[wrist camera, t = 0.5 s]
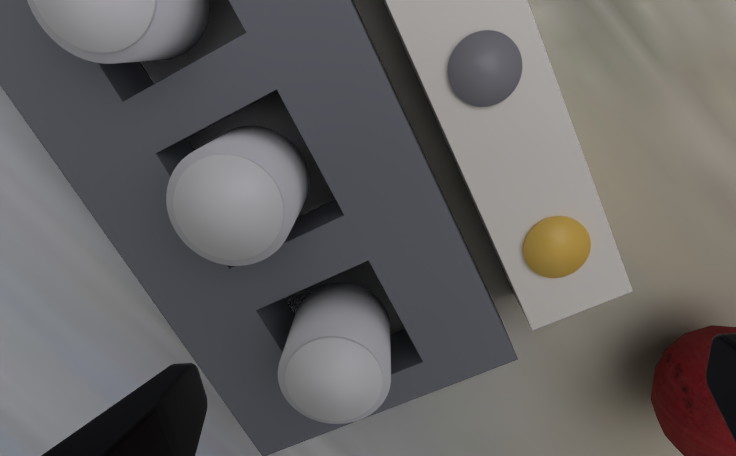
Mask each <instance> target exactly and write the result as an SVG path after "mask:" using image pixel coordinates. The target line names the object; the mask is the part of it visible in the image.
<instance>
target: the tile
mask: <svg viewBox="0 0 736 456" xmlns="http://www.w3.org/2000/svg"><path fill="white" fill-rule="evenodd" d="M383 2H384V4H385V6H386V9H387V11H388V13H389V15H390V18H391V20H392V22H393V24H394V27H395V29H396V31H397V33H398V35H399V38H400V40H401V42H402V44H403V47H404V49H405V51H406V53H407V56H408V58H409V60H410V62H411V65H412V67H413V69H414V71H415V73H416V76H417V78H418V80H419V82H420V85H421V87H422V89H423V91H424V94H425V96H426V98H427V100H428V103H429V105H430V107H431V109H432V111H433V114H434V116H435V118H436V120H437V123H438V125H439V127H440V129H441V132H442V134H443V136H444V138H445V141H446V143H447V145H448V147H449V149H450V152H451V154H452V156H453V158H454V161H455V163H456V165H457V167H458V170H459V172H460V174H461V176H462V179H463V181H464V183H465V185H466V187H467V190H468V192H469V194H470V196H471V199H472V201H473V203H474V205H475V208H476V210H477V212H478V214H479V217H480V219H481V221H482V223H483V225H484V228H485V230H486V232H487V234H488V237H489V239H490V241H491V243H492V246H493V248H494V250H495V252H496V255H497V257H498V259H499V261H500V263H501V266H502V268H503V270H504V272H505V275H506V277H507V279H508V281H509V284H510V286H511V288H512V290H513V293H514V295H515V297H516V299H517V301H518V303H519V305H520V307H521V308H522V310H523V312H524V314H525V316H526V318H527V320H528V322H529V324H530V326H531V328H532V330H535V329H538V328H540V327H543V326H545V325H548V324H551V323H553V322H556V321H558V320H561V319H563V318H566V317H568V316H571V315H574V314H576V313H579V312H581V311H584V310H586V309H589V308H591V307H594V306H597V305H599V304H602V303H604V302H607V301H609V300H612V299H614V298H617V297H620V296H622V295H625V294H627V293H630V292H632V291H633V290H632V287H631V284H630V282H629V279H628V276H627V273H626V271H625V268H624V265H623V262H622V260H621V257H620V254H619V251H618V249H617V246H616V243H615V240H614V238H613V235H612V232H611V229H610V227H609V224H608V221H607V218H606V216H605V213H604V210H603V207H602V205H601V202H600V199H599V196H598V194H597V191H596V188H595V185H594V182H593V180H592V177H591V174H590V171H589V169H588V166H587V163H586V160H585V158H584V155H583V152H582V149H581V147H580V144H579V141H578V138H577V136H576V133H575V130H574V127H573V125H572V122H571V119H570V116H569V114H568V111H567V108H566V105H565V103H564V100H563V97H562V94H561V92H560V89H559V86H558V83H557V81H556V78H555V75H554V72H553V69H552V67H551V64H550V61H549V58H548V56H547V53H546V50H545V47H544V45H543V42H542V39H541V36H540V34H539V31H538V28H537V25H536V23H535V20H534V17H533V14H532V12H531V9H530V6H529V3H528V1H527V0H383Z"/></svg>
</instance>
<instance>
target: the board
mask: <svg viewBox="0 0 736 456" xmlns="http://www.w3.org/2000/svg"><path fill="white" fill-rule="evenodd" d="M229 2H230V3H231V5H232V7H233V9H234V11H235V13H236V15H237V17H238V18H239V20H240V22H241V24H242V26H243V28H244V30H245V31H246V33H245V34H243V35H241V36H239V37H238V38H236V39H234V40H232V41H230V42H229V43H227V44H225V45H223V46H222V47H220V48H218V49H216V50H214V51H213V52H211V53H209V54H207V55H206V56H204V57H202V58H200V59H198V60H197V61H195V62H193V63H191V64H189V65H188V66H186V67H184V68H182V69H181V70H179V71H177V72H175V73H173V74H172V75H170V76H168V77H166V78H165V79H163V80H161V81H159V82H157V83H156V84H154V85H153V83H152V81H151V80H150V78H149V76H148V75H147V73H146V72H145V70H144V68H143V67H142V65H141V63H140V62H127V63H114V64H103V63H95V62H91V61H87V60H84V59H82V58H79V57H77V56H75V55H73V54H71V53H70V52H68V51H66V50H65V49H63V48H62V47H61V46H59V45H58V44H57V43H56V42H55V41H54V40H52V39H51V38H50V36H49V35H48V34H47V33H46V32H45V31H44V30H43V28H42V27H41V26H40V24H39V23H38V21H37V20H36V18H35V16H34V15H33V13H32V11H31V8H30V6H29V4H28V1H27V0H0V85H1V87H2V88H3V90H4V91H5V92H6V94H7V95H8V97H9V98H10V99H11V101H12V102H13V104H14V105H15V107H16V108H17V109H18V111H19V112H20V114H21V115H22V116H23V118H24V119H25V121H26V122H27V124H28V125H29V126H30V128H31V129H32V131H33V132H34V133H35V135H36V136H37V138H38V139H39V141H40V142H41V143H42V145H43V146H44V148H45V149H46V150H47V152H48V153H49V155H50V156H51V158H52V159H53V160H54V162H55V163H56V165H57V166H58V167H59V169H60V170H61V172H62V173H63V175H64V176H65V177H66V179H67V180H68V182H69V183H70V184H71V186H72V187H73V189H74V190H75V192H76V193H77V194H78V196H79V197H80V199H81V200H82V201H83V203H84V204H85V206H86V207H87V209H88V210H89V211H90V213H91V214H92V216H93V217H94V218H95V220H96V221H97V223H98V224H99V226H100V227H101V228H102V230H103V231H104V233H105V234H106V235H107V237H108V238H109V240H110V241H111V243H112V244H113V245H114V247H115V248H116V250H117V251H118V252H119V254H120V255H121V257H122V258H123V259H124V261H125V262H126V264H127V265H128V267H129V268H130V269H131V271H132V272H133V274H134V275H135V276H136V278H137V279H138V281H139V282H140V284H141V285H142V286H143V288H144V289H145V291H146V292H147V293H148V295H149V296H150V298H151V299H152V301H153V302H154V303H155V305H156V306H157V308H158V309H159V310H160V312H161V313H162V315H163V316H164V318H165V319H166V320H167V322H168V323H169V325H170V326H171V327H172V329H173V330H174V332H175V333H176V335H177V336H178V337H179V339H180V340H181V342H182V343H183V344H184V346H185V347H186V349H187V350H188V352H189V353H190V354H191V356H192V357H193V359H194V360H195V361H196V363H197V364H198V366H199V367H200V369H201V370H202V371H203V373H204V374H205V376H206V377H207V378H208V380H209V381H210V383H211V384H212V386H213V387H214V388H215V390H216V391H217V393H218V394H219V395H220V397H221V398H222V400H223V401H224V403H225V404H226V405H227V407H228V408H229V410H230V411H231V412H232V414H233V415H234V417H235V418H236V420H237V421H238V422H239V424H240V425H241V427H242V428H243V429H244V431H245V432H246V434H247V435H248V437H249V438H250V439H251V441H252V442H253V444H254V445H255V446H256V448H257V449H258V451H259V452H260V453H261V455H262V456H266V455H269V454H272V453H274V452H277V451H279V450H282V449H285V448H287V447H290V446H293V445H295V444H298V443H300V442H303V441H306V440H308V439H311V438H313V437H316V436H319V435H321V434H324V433H326V432H329V431H332V430H334V429H337V428H340V427H342V426H345V425H347V424H350V423H345V424H329V423H323V422H319V421H316V420H313V419H310V418H308V417H306V416H304V415H303V414H301V413H300V412H298V411H297V410H296V409H294V408H293V407H292V406H291V405H290V404H289V402H288V401H287V400H286V398H285V397H284V395H283V393H282V391H281V389H280V386H279V382H278V366H279V362H280V359H281V356H282V353H283V350H284V347H285V344H286V341H287V338H288V335H289V332H290V329H291V326H292V323H293V320H294V317H295V315H294V314H293V312H292V310H291V309H290V307H289V305H288V304H287V302H286V300H285V299H284V298H285V297H287V296H289V295H292V294H294V293H296V292H298V291H301V290H303V289H305V288H307V287H310V286H312V285H314V284H316V283H319V282H321V281H323V280H325V279H328V278H330V277H332V276H334V275H337V274H339V273H341V272H343V271H346V270H348V269H350V268H352V267H355V266H357V265H359V264H361V263H364V262H366V261H368V260H369V262H370V264H371V266H372V268H373V270H374V271H375V273H376V275H377V277H378V279H379V281H380V283H381V284H382V286H383V288H384V290H385V292H386V294H387V296H388V297H389V299H390V301H391V303H392V305H393V307H394V309H395V310H396V312H397V314H398V316H399V318H400V320H401V322H402V323H403V325H404V327H405V330H403V331H400V332H398V333H395V334H393V335H390V346H391V384H390V389H389V392H388V395H387V397H386V399H385V400H384V402H383V403H382V405H381V406H380V407H379V408H378V409H377V410H376V411H374V412H373V413H372V414H370V415H369V416H371V415H373V414H376V413H379V412H381V411H384V410H387V409H389V408H392V407H394V406H397V405H400V404H402V403H405V402H407V401H410V400H413V399H415V398H418V397H421V396H423V395H426V394H428V393H431V392H434V391H436V390H439V389H441V388H444V387H447V386H449V385H452V384H454V383H457V382H460V381H462V380H465V379H468V378H470V377H473V376H475V375H478V374H481V373H483V372H486V371H488V370H491V369H494V368H496V367H499V366H501V365H504V364H507V363H509V362H512V361H515V360H517V359H518V358H517V356H516V354H515V351H514V349H513V346H512V344H511V342H510V339H509V337H508V334H507V332H506V330H505V327H504V325H503V322H502V320H501V318H500V316H499V314H498V312H497V309H496V307H495V305H494V303H493V301H492V299H491V297H490V294H489V292H488V290H487V288H486V286H485V284H484V281H483V279H482V277H481V275H480V273H479V271H478V269H477V266H476V264H475V262H474V260H473V258H472V256H471V254H470V251H469V249H468V247H467V245H466V243H465V241H464V238H463V236H462V234H461V232H460V230H459V228H458V226H457V223H456V221H455V219H454V217H453V215H452V213H451V211H450V208H449V206H448V204H447V202H446V200H445V198H444V195H443V193H442V191H441V189H440V187H439V185H438V183H437V180H436V178H435V176H434V174H433V172H432V170H431V168H430V165H429V163H428V161H427V159H426V157H425V155H424V152H423V150H422V148H421V146H420V144H419V142H418V140H417V137H416V135H415V133H414V131H413V129H412V127H411V125H410V122H409V120H408V118H407V116H406V114H405V112H404V109H403V107H402V105H401V103H400V101H399V99H398V97H397V94H396V92H395V90H394V88H393V86H392V84H391V81H390V79H389V77H388V75H387V73H386V71H385V69H384V66H383V64H382V62H381V60H380V58H379V56H378V54H377V51H376V49H375V47H374V45H373V43H372V41H371V38H370V36H369V34H368V32H367V30H366V28H365V26H364V23H363V21H362V19H361V17H360V15H359V13H358V11H357V8H356V6H355V4H354V2H353V0H229ZM276 91H278V93H279V95H280V96H281V98H282V100H283V102H284V104H285V106H286V108H287V110H288V111H289V113H290V115H291V117H292V119H293V121H294V123H295V124H296V126H297V128H298V130H299V132H300V134H301V136H302V137H303V139H304V141H305V143H306V145H307V147H308V149H309V150H310V152H311V154H312V156H313V158H314V160H315V162H316V163H317V165H318V167H319V169H320V171H321V173H322V175H323V176H324V178H325V180H326V182H327V184H328V186H329V188H330V190H331V191H332V193H333V195H334V197H335V199H336V200H333V201H331V202H329V203H327V204H325V205H323V206H321V207H319V208H317V209H314V210H312V211H310V212H308V213H306V214H304V215H302V216H300V217H298V218H297V219H296V221H295V223H294V225H293V227H292V229H291V231H290V233H289V235H288V237H287V238H286V240H285V242H284V243H283V244H282V246H281V247H280V248H279V249H278V250H277V251H276V252H275V253H273V254H272V255H271V256H269V257H268V258H266V259H264V260H262V261H260V262H257V263H254V264H250V265H244V266H229V265H223V264H219V263H215V262H212V261H210V260H207V259H205V258H204V257H202V256H200V255H198V254H197V253H195V252H194V251H193V250H192V249H190V248H189V247H188V246H187V245H186V244H185V243H184V242H183V241H182V240H181V238H180V237H179V236H178V234H177V233H176V231H175V229H174V227H173V226H172V223H171V221H170V218H169V215H168V211H167V204H166V193H167V186H168V183H169V179H170V177H171V175H172V173H173V171H174V169H175V168H176V166H177V165H178V164H179V163H180V162H181V160H182V159H184V158H185V157H186V156H187V155H188V154H190V153H192V152H193V151H194V150H193V148H192V147H191V145H190V144H189V142H188V140H187V138H189V137H191V136H193V135H194V134H196V133H198V132H200V131H202V130H204V129H206V128H208V127H210V126H211V125H213V124H215V123H217V122H219V121H221V120H223V119H225V118H227V117H228V116H230V115H232V114H234V113H236V112H238V111H240V110H242V109H243V108H245V107H247V106H249V105H251V104H253V103H255V102H257V101H259V100H260V99H262V98H264V97H266V96H268V95H270V94H272V93H274V92H276ZM367 417H368V416H367ZM365 418H366V417H365ZM351 423H353V422H351Z"/></svg>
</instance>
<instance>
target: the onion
mask: <svg viewBox="0 0 736 456" xmlns="http://www.w3.org/2000/svg"><path fill="white" fill-rule="evenodd" d="M724 333H736V327H724V326H708V327H705V328H702V329H698V330H695V331H692V332H689V333H685V334H684V335H683V336H682V337H680V338H679V339H678V340H677V341H675V342H674V343H673V344H672V345H670V346H669V347H668V348H667V349H665V351H664V353H663V355H662V357H661V358H660V360H659V362H658V364H657V366H656V367H655V373H654V380H653V387H652V394H651V401H652V404H653V407H654V410H655V413H656V416H657V419H658V421H659V423H660V426H661V428H662V430H663V432H664V434H665V436H666V437H667V438H668V439H669V440H670V441H671V442H672V444H673V445H674V446H675V447H676V448H677V449H678V450H679V451H680V452H681V453H682V454H683V455H684V456H736V442H735V440H734V438H733V436H732V434H731V432H730V430H729V428H728V426H727V424H726V422H725V420H724V418H723V416H722V414H721V412H720V410H719V408H718V406H717V404H716V402H715V400H714V398H713V396H712V394H711V392H710V390H709V388H708V385H707V381H706V369H707V364H708V358H709V353H710V348H711V343H712V339H713V338H714V336H716V335H718V334H724Z"/></svg>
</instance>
